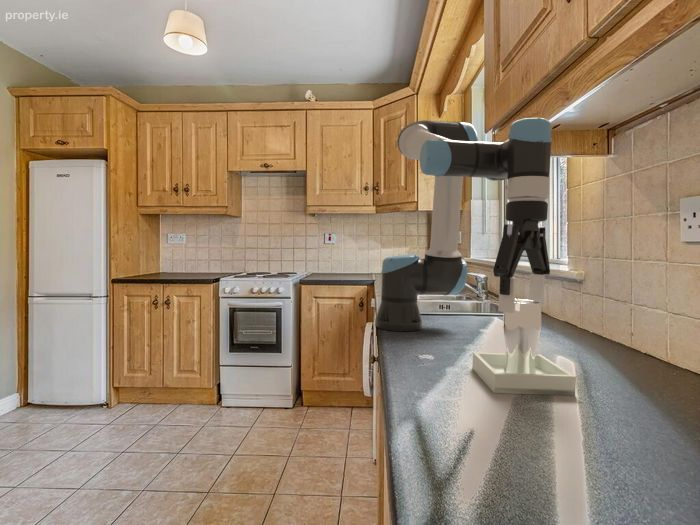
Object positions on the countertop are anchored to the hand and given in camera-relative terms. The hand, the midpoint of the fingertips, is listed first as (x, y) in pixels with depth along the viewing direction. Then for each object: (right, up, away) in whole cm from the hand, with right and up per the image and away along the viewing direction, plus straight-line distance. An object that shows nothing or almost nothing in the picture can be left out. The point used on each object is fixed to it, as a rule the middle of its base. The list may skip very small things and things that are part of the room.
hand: (521, 308), depth 81 cm
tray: (0, -15, +1) cm, 15 cm away
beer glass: (0, -14, +1) cm, 14 cm away
